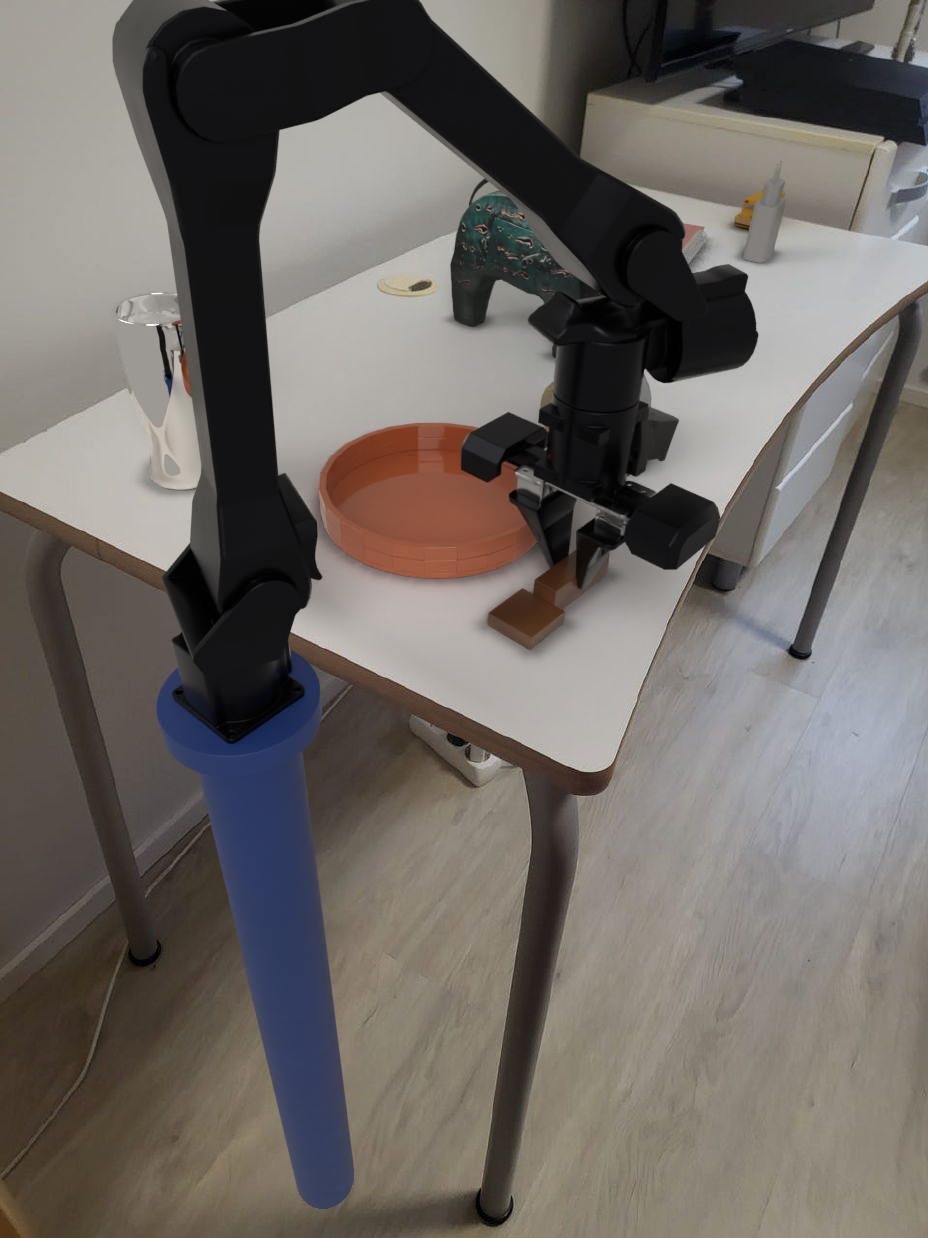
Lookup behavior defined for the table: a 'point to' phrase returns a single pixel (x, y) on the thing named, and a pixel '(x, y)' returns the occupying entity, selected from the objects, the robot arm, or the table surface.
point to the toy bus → (748, 210)
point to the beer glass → (159, 384)
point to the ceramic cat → (502, 259)
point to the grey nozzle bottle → (766, 220)
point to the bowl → (420, 504)
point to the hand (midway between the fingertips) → (571, 580)
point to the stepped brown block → (541, 604)
